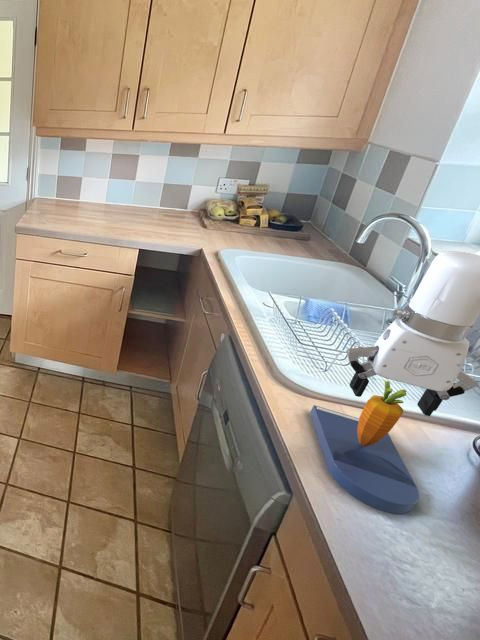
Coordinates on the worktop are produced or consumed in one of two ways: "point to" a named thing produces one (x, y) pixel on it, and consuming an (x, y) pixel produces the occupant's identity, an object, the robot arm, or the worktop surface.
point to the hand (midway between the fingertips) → (388, 401)
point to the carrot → (379, 416)
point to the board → (364, 463)
